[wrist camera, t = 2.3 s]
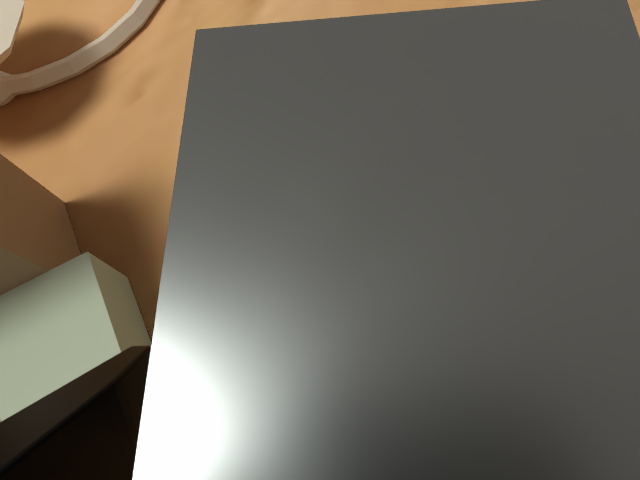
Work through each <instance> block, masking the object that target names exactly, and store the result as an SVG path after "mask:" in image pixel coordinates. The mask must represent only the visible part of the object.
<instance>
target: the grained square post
mask: <svg viewBox="0 0 640 480" xmlns="http://www.w3.org/2000/svg"><path fill="white" fill-rule="evenodd" d="M132 480H640V38H639V35H638V32H637V29H636V26H635V23H634V20H633V17H632V14H631V11H630V8H629V5H628V2H627V0H539V1H527V2H516V3H504V4H492V5H480V6H469V7H457V8H445V9H433V10H422V11H410V12H398V13H386V14H375V15H363V16H351V17H340V18H328V19H316V20H304V21H293V22H281V23H269V24H257V25H246V26H234V27H222V28H210V29H199V30H196V34H195V41H194V48H193V56H192V63H191V70H190V77H189V84H188V91H187V98H186V105H185V112H184V119H183V126H182V133H181V140H180V147H179V154H178V161H177V168H176V175H175V182H174V190H173V197H172V204H171V211H170V218H169V225H168V232H167V239H166V246H165V253H164V260H163V267H162V274H161V281H160V288H159V295H158V302H157V309H156V316H155V323H154V331H153V338H152V345H151V352H150V359H149V366H148V373H147V380H146V387H145V394H144V401H143V408H142V415H141V422H140V429H139V436H138V443H137V450H136V457H135V465H134V472H133V479H132Z"/></svg>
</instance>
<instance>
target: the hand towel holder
mask: <svg viewBox="0 0 640 480" xmlns="http://www.w3.org/2000/svg"><path fill="white" fill-rule="evenodd" d="M160 1H161V0H137V1H136V2H135V4H134V5H133V6H132V8H131V9H130V11H129V12H127V13H126V14H125V15H124V16H123V17H122V18H121V19H120V20H119V21H117V22H116V23H115V24H114V25H113V26H112V27H111V28H110V29H108V30H107V31H106V32H105V33H104V34H103V35H102V36H101V37H99V38H97V39H96V40H94V41H92V42H91V43H89V44H87V45H86V46H84V47H82V48H81V49H79V50H77V51H76V52H74V53H72V54H71V55H69V56H67V57H66V58H63V59H61V60H58V61H55V62H53V63H50V64H48V65H45V66H42V67H40V68H37V69H35V70H32V71H29V72H26V73H21V74H16V75H11V74H8V73H5V72H3V71H0V106H3V105H6V104H8V103H9V102H10V101H11V100H12V99H13V98H14V97H15V95H20V94H25V93H31V92H36V91H40V90H43V89H45V88H48V87H50V86H53V85H56V84H58V83H61V82H63V81H66V80H68V79H71V78H73V77H76V76H78V75H80V74H82V73H83V72H85V71H87V70H88V69H90V68H91V67H93V66H95V65H96V64H98V63H99V62H101V61H103V60H104V59H106V58H107V57H109V56H111V55H112V54H114V53H115V52H116V51H117V50H118V49H119V48H120V47H122V46H123V45H124V44H125V43H126V42H127V41H128V40H129V39H130V38H131V37H132V36H133V35H135V34H136V33H137V32H138V31H139V30H140V29H141V28H142V27H143V26H144V24H145V23H146V22H147V20H148V19H149V17H150V16H151V14H152V13H153V11H154V10H155V9H156V7H157V6H158V4H159V3H160ZM24 3H25V2H24V1H23V0H0V63H2V62H3V61H4V60H5V59H6V58H7V57H8V56H9V55H10V54H11V51H12V48H13V45H14V41H15V38H16V35H17V32H18V29H19V26H20V23H21V20H22V16H23V10H24Z"/></svg>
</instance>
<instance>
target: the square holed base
mask: <svg viewBox="0 0 640 480" xmlns="http://www.w3.org/2000/svg"><path fill="white" fill-rule="evenodd" d="M147 345H150V346H151V345H152V343H151V340H150V337H149V335H148V332H147V329H146V326H145V324H144V321H143V318H142V316H141V313H140V310H139V307H138V305H137V302H136V299H135V296H134V294H133V291H132V288H131V286H130V283H129V280H128V277H126V276H125V275H123V274H122V273H120V272H118V271H117V270H115V269H114V268H112V267H111V266H109V265H108V264H106V263H104V262H103V261H101V260H100V259H98V258H97V257H95V256H94V255H92V254H91V253H89V252H85V253H83V254H81V252H80V249H79V246H78V243H77V240H76V237H75V234H74V231H73V228H72V225H71V222H70V219H69V216H68V213H67V209H66V206H65V203H64V202H63V201H62V200H61V199H59V198H58V197H57V196H55V195H54V194H53V193H51V192H50V191H49V190H47V189H46V188H45V187H43V186H42V185H41V184H39V183H38V182H37V181H35V180H34V179H33V178H31V177H30V176H29V175H28V174H26V173H25V172H24V171H22V170H21V169H20V168H18V167H17V166H16V165H14V164H13V163H12V162H10V161H9V160H8V159H6V158H5V157H4V156H2V155H1V154H0V422H1V421H3V420H5V419H7V418H8V417H10V416H12V415H14V414H15V413H17V412H19V411H20V410H22V409H24V408H26V407H27V406H29V405H31V404H33V403H34V402H36V401H38V400H39V399H41V398H43V397H45V396H46V395H48V394H50V393H52V392H53V391H55V390H57V389H58V388H60V387H62V386H64V385H65V384H67V383H69V382H71V381H72V380H74V379H76V378H77V377H79V376H81V375H83V374H84V373H86V372H88V371H90V370H91V369H93V368H95V367H96V366H98V365H100V364H102V363H103V362H105V361H107V360H109V359H110V358H112V357H114V356H115V355H117V354H119V353H121V352H122V351H124V350H126V349H128V348H129V347H131V346H147Z"/></svg>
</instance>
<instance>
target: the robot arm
mask: <svg viewBox="0 0 640 480" xmlns="http://www.w3.org/2000/svg"><path fill="white" fill-rule="evenodd" d="M150 352H151V346H150V345H147V346H131V347H129V348H128V349H126V350H124V351H122V352H121V353H119V354H117V355H115V356H114V357H112V358H110V359H109V360H107V361H105V362H103V363H102V364H100V365H98V366H96V367H95V368H93V369H91V370H90V371H88V372H86V373H84V374H83V375H81V376H79V377H77V378H76V379H74V380H72V381H71V382H69V383H67V384H65V385H64V386H62V387H60V388H58V389H57V390H55V391H53V392H52V393H50V394H48V395H46V396H45V397H43V398H41V399H39V400H38V401H36V402H34V403H33V404H31V405H29V406H27V407H26V408H24V409H22V410H20V411H19V412H17V413H15V414H14V415H12V416H10V417H8V418H7V419H5V420H3V421H1V422H0V480H132V479H133V472H134V465H135V457H136V450H137V443H138V436H139V429H140V422H141V415H142V408H143V401H144V394H145V387H146V380H147V373H148V366H149V359H150Z"/></svg>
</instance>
